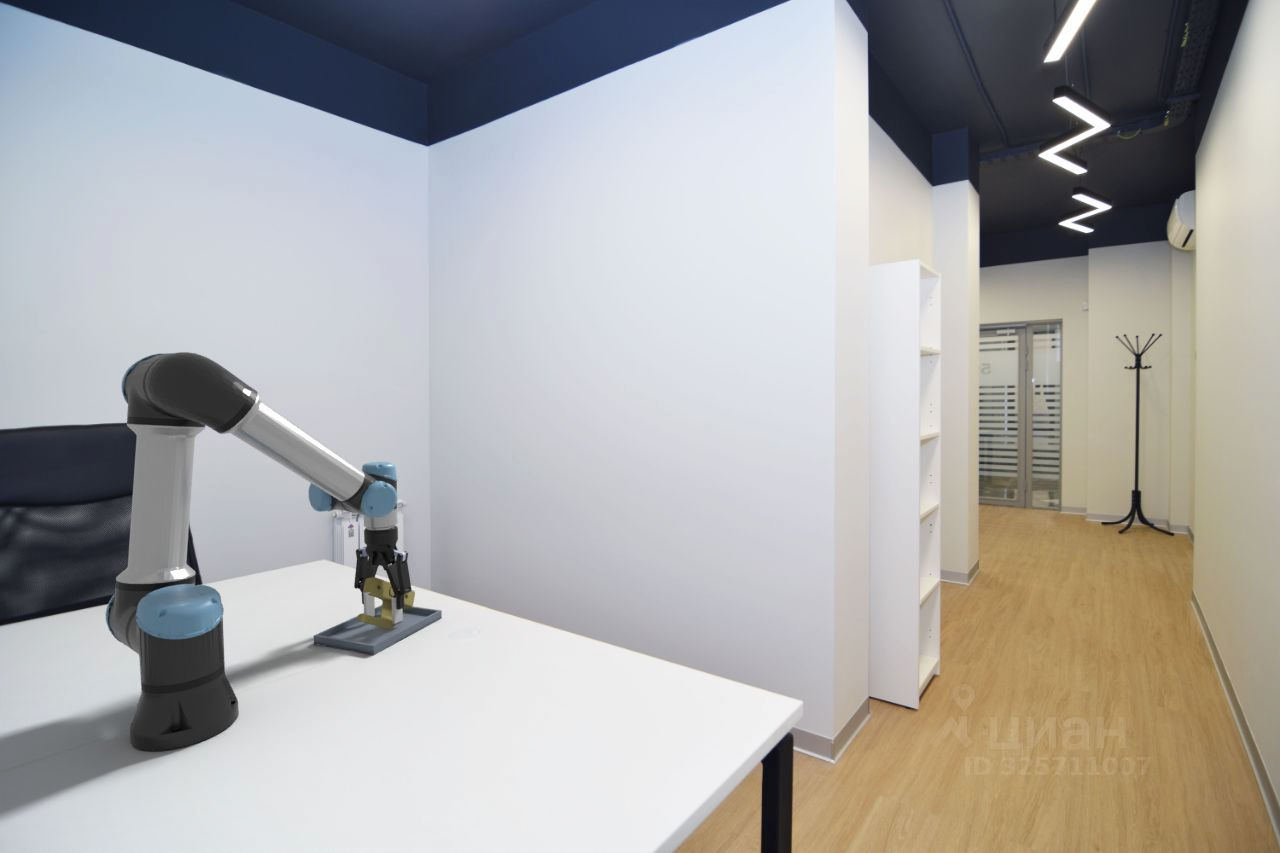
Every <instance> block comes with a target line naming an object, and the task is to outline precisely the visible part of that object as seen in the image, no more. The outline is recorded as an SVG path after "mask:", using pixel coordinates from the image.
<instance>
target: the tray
mask: <svg viewBox="0 0 1280 853" xmlns="http://www.w3.org/2000/svg"><path fill="white" fill-rule="evenodd" d="M381 608H382V604H381V605H378V606H376V607H375V616H373V617H377V618H380V613H381ZM442 613H443V612H442V610H441V609H434V608H427V607H419V606H414V605H413V606H412V608H406V609H403V620H402V621H400V622H398V623H396V625H395V626H394V627H393V628H392V629H385V628H382V627H378V626H375V625H371V624H367V623H364V622H358V621H357V617H358V615H356V616H354V617H352V618H350V619H347V620H345V621H343V622H341V623H338V624H337V625H335V626H332V627H330V628H328V629H325V630H323V631H321V632H319V633H317V634H315V635H314V634H313V645H316V646H322V647H327V648H334V649H337V650H345V651H350V652H355V653H361V654H367V655H370V656H371V655H372V656H374V655H375V656H376V655H377V654H379V653H380V652H383V651H384V650H386V649H387V648H390V647H391V646H394V645H395V644H398V643H399V642H400V641H403V640H404V639H406V638H408V637H410V636H412V635H413V634H416V633H417V632H419V631H421V630H423V629H425V628H427V627H428V626H430V625H432V624H434V623H436V622H437V621H439V620H441V619H442V618H443V617H442V616H443V614H442ZM362 614H364V612H363V613H362Z"/></svg>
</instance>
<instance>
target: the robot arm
mask: <svg viewBox="0 0 1280 853" xmlns="http://www.w3.org/2000/svg"><path fill="white" fill-rule="evenodd" d="M121 393H122V396H123V399H124V401H125V402H126V404H127V412H126V415H127V416H126V417H127V418H126V426H127V427H128V428H129V429H130V430H131V431H133V433H134V434H135V435H136V442H135V457H134V471H133V472H134V473H133V483H132V484H133V485H132V499H131V500H132V501H131V502H132V503H131V512H130V513H131V515H130V516H131V517H130V530H129V541H128V542H129V545H128V560H127V567H126V569H124V570H123V571H121V572H120V573H119V574H118V575H117V576H116V577H115V587H114V588H115V589H114V594H113V595H112V596H111V598H110V600H109V601H108V603H107V605H106V610H105V622H106V625H107V627H108V631H109V632H110V633H111V635H112V636H113V638H114V639H116V641H117V642H120V643H122V644H123V645H124V646H126V647H128V648H130V650H132V651H134V652H135V653H136V654H137V655H138V656H139V670H140V672H139V673H140V686H141V692H140V696H139V699H138V703H137V704H136V709H135V712H134V714H133V719H132V722H131V723H130V727H129V739H130V740H129V741H130V744H131V746H132V747H134V748H135V749H137V750H142V751H148V752H152V751H153V752H157V751H166V750H167V751H168V750H173V749H178V748H182V747H186V746H187V747H188V746H191V745H192V744H193V745H194V744H197V743H200V742H202V741H205V740H207V739H209V738H212V737H214V736H216V735H218V734H220V733H221V732H223V731H225V730H226V729H228V728H229V727H230V726H232V725H233V724H234V722H236V720H237V719H238V717H239V701H238V698H237V696H236V693H235V691H234V689H233V688H232V685H231V683H230V680H229V679H228V677H227V675H226V665H225V642H224V639H225V638H224V636H225V635H224V617H223V616H224V606H223V602H222V597H221V594H220V592H219V591H218V590H217V589H216V588H213V587H212V586H209V585H205V584H197V585H196V570H194V569H193V568H192V567H191V566H189V565H188V563H187V558H188V557H187V556H188V542H189V530H190V516H191V515H190V514H191V512H190V511H191V500H192V499H191V498H192V485H193V484H192V483H193V482H192V481H193V468H194V454H195V439H196V437H197V436H198V435H199V434H200V433H201V432H204V430H206V427H208V428H210V429H211V430H213V431H215V432H217V433H218V434H220V435H223V434H224V435H226V434H232V435H233V436H234V437H236V438H238V439H240V440H241V441H242V442H243V443H245V444H247V445H248V446H251V447H252V448H253V449H255V450H257V451H258V452H260V453H262V454H264V456H267V457H268V458H270V459H271V460H273V461H275V462H276V463H278V464H279V465H282V466H283V467H285V468H286V469H288V470H289V471H291V472H293V473H294V474H296V475H298V476H300V478H303V479H304V480H306V481H307V482H309V483H310V485H309V486H308V487H309V488H308V501H309V503H310V505H311V507H312V509H313V510H314V511H315V512H318V513H319V512H331V511H337V510H339V511H343V512H347V513H353V514H356V515H362V516H363V527H364V528H365V529H363V541H364V544H365V545H366V546H364V547H360V548H357V549H356V550H355V555H356V564H355V565H356V566H355V574H354V584H353V585H354V586H353V587H354V589H355V590H360V593H361V603H362V605H363V613H364V614H367V615H370V616H375V608H376V607H375V605H376V604H375V603H376V602H375V597H373V596H370V595H368V593H370V592H367V593H364V592H363V589H364V584H365V580H366V579H367V578H372V577H376V574H377V573H378V572H377V571H378V568H379V566H381V567H382V568H383V570H384V571H385V572H386V574H387V575H386V576H387V578H388V582H390V584H391V586H392V589H393V592H394V596H392V624H396V623H398V622H400V621H402V620H403V609H402V608H404V595H405V594H407V593H409V592H411V590H413V589H412V583H411V578H410V571H409V570H410V569H409V565H408V558H409V557H408V556H409V552H408V551H400V550H399V549H398V547H397V542H398V540H399V530H398V529H399V527H398V526H397V525H398V492H397V491H398V487H397V485H398V484H397V483H398V479H397V478H398V477H397V469H396V468H397V467H396V465H395V463H393V462H390V461H389V462H388V461H374V462H368V463H367V462H366V463H364V464H362V467H361V469H360V467H358V466H356V465H355V464H353V463H352V462H350V461H349V460H347V459H346V458H344V457H343V456H342V455H341V454H340V455H339V454H338V453H337V452H335V451H334V450H333V449H332V448H330V447H328V446H327V445H326V444H324V443H323V442H321V441H320V440H318V439H317V438H315V437H314V436H312V435H311V434H309V433H308V432H306V431H305V430H304V429H302V428H300V427H299V426H298V425H296V424H295V422H294V423H293V422H292V421H290V420H289V419H288V418H286V417H285V416H283V415H282V414H281V413H279V412H277V411H276V410H275V409H273V408H272V407H270V406H269V405H267V404H266V403H264V402H263V401H261V399H260V393H259V392H258V391H257V390H256V389H255V388H252V386H250V385H249V384H247V383H246V382H244V381H243V380H242V379H241V378H239V377H238V376H236V375H235V374H233V372H231V371H230V370H228V369H226V368H225V367H224V366H222V365H221V364H219V363H218V362H216V361H214V360H212V359H211V358H209V357H208V356H204V355H201V354H199V353H196V352H195V353H194V352H189V351H186V352H185V351H184V352H183V351H181V352H173V353H155V354H150V355H148V356H145V357H143V358H141V359H139V360H137V361H135V362H134V363H133V364H132V365H131V366H129V367H128V369H127V370H126V371H125V372H124V375H123V377H122V380H121Z"/></svg>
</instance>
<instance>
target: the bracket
mask: <svg viewBox="0 0 1280 853" xmlns="http://www.w3.org/2000/svg"><path fill="white" fill-rule="evenodd" d="M363 592H364V593H367V592H370V593H368V595H370V596H373V597H374V598H377V599H379V600H381V601H382V604H381V605H382V608H381V613H380V618H377V617H373V616H370V615H367V614H363V613H359V614H358V615H357V616H358V617H357V621H358V622H364V623H367V624H371V625H375V626H378V627H382V628H385V629H392V628H393V627H394V626H395V625H396V624H392V596H394V592H393V589H392V586H391V584H390V581H386V580H384V579H381V578H378V577H376V576H375V577H372V578H367V579H366V580H365V584H364V589H363ZM415 596H416V591H415V590H413V589H412V590H411V592H409V593H407V594H405V595H404V608H402V609H406V608H412V606H414V602H415Z"/></svg>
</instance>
